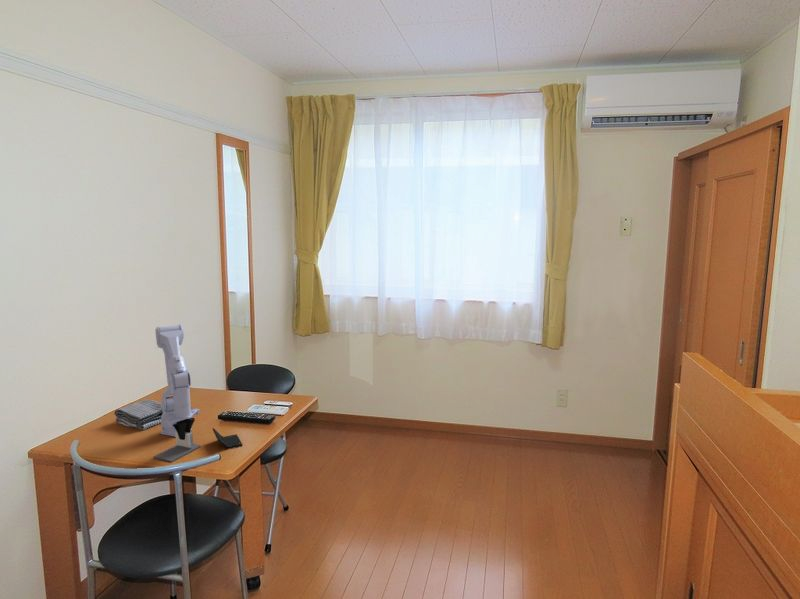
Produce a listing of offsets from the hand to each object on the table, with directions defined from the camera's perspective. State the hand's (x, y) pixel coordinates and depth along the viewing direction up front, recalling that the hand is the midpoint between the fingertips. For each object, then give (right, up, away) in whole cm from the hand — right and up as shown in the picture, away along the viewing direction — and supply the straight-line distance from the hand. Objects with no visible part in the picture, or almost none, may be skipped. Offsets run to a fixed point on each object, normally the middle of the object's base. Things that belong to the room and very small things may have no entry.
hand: (184, 438), depth 191 cm
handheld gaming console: (+15, -4, +5) cm, 16 cm away
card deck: (0, -3, 0) cm, 3 cm away
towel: (-29, -1, +27) cm, 40 cm away
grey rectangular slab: (-1, -5, -3) cm, 5 cm away
